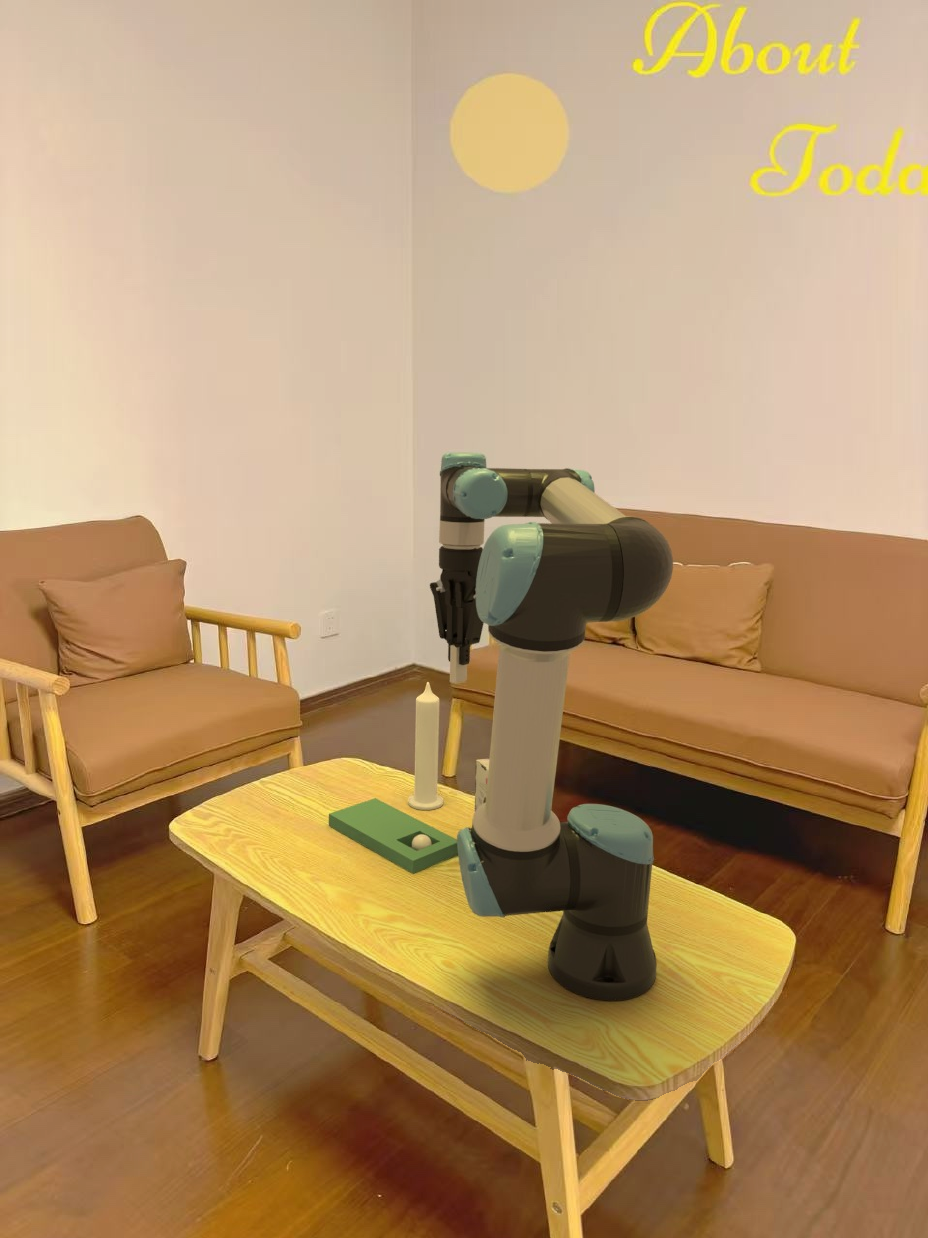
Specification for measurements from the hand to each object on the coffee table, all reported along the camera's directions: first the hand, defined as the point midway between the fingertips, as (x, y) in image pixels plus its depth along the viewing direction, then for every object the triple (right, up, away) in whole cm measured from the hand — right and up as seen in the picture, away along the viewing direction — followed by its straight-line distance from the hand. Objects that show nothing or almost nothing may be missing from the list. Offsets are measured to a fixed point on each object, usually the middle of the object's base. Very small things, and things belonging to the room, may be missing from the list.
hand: (458, 681), depth 161 cm
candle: (-7, -26, +24) cm, 36 cm away
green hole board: (-12, -29, +8) cm, 33 cm away
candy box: (+8, -31, +2) cm, 32 cm away
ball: (-6, -29, +2) cm, 29 cm away
